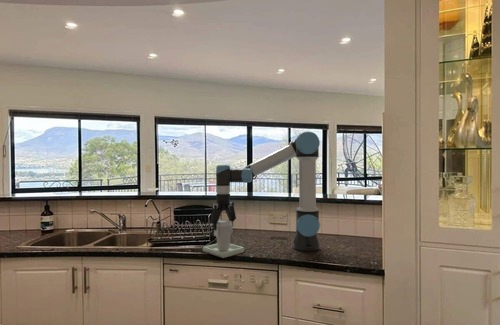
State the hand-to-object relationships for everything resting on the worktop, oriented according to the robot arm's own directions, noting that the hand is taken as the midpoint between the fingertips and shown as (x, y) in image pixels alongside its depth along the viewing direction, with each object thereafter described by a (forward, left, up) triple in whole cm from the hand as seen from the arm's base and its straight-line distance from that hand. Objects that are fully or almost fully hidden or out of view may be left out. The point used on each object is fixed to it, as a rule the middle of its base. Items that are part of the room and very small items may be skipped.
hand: (223, 234), depth 176 cm
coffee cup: (0, 0, -8) cm, 8 cm away
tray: (0, 0, -9) cm, 9 cm away
